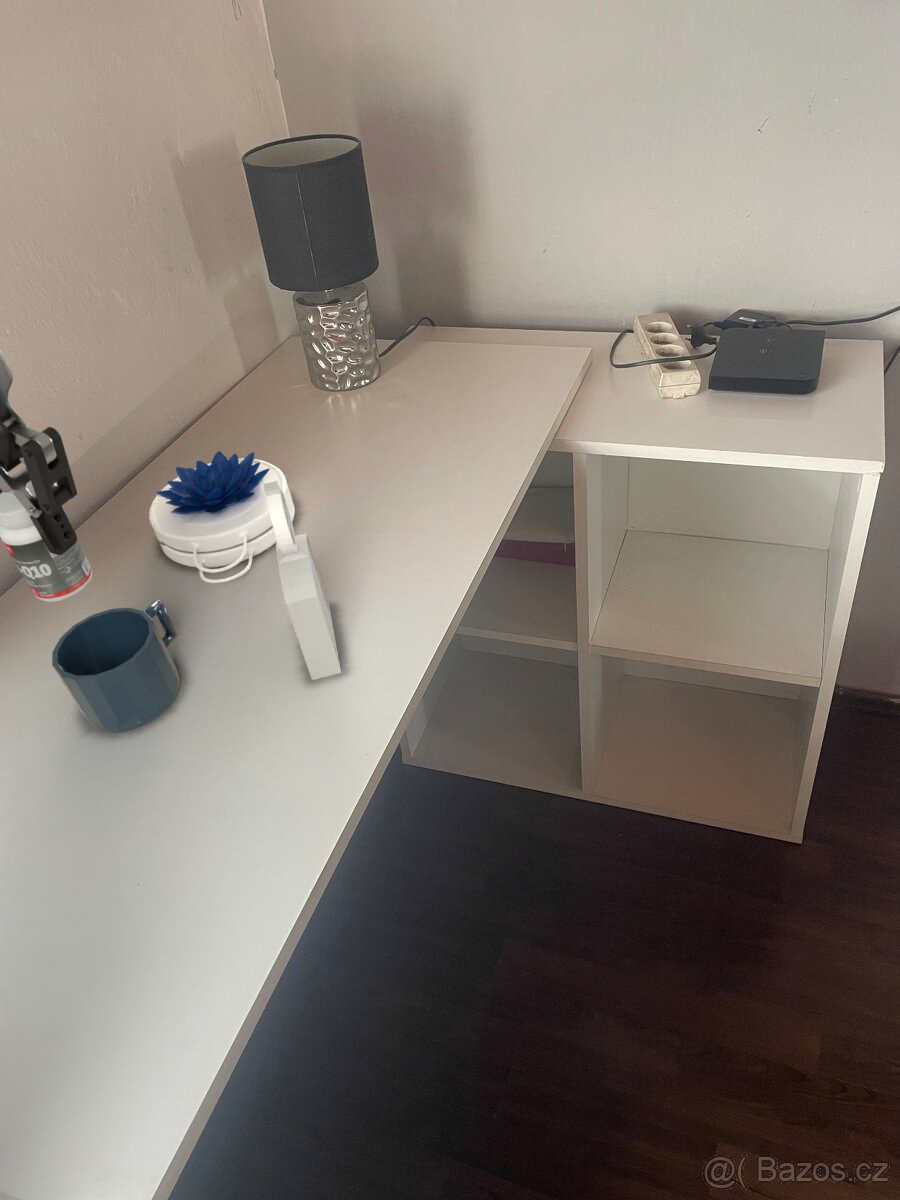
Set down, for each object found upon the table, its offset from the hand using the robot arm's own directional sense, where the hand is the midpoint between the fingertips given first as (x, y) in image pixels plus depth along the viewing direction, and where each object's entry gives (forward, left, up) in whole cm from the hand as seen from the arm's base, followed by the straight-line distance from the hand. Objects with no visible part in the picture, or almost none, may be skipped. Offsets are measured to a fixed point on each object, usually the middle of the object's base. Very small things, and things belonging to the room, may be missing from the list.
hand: (40, 541), depth 66 cm
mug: (+2, +3, -20) cm, 20 cm away
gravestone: (+17, -4, -20) cm, 27 cm away
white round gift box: (+17, +19, -20) cm, 33 cm away
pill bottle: (0, 0, -5) cm, 5 cm away
